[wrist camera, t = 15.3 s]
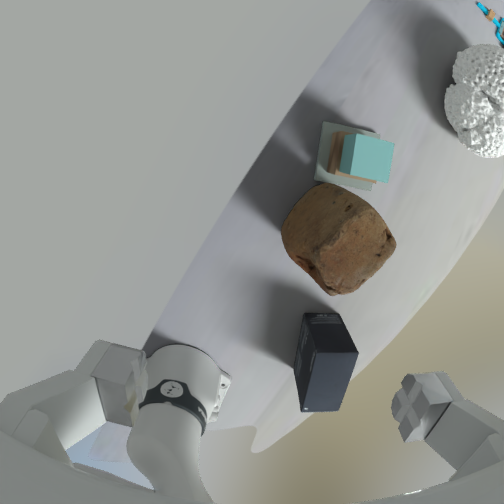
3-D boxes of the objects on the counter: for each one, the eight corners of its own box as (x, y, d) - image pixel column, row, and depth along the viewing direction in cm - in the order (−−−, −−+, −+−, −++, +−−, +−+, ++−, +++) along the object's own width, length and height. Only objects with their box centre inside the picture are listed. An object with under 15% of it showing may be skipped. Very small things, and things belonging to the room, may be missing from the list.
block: (323, 174, 44) (370, 192, 25) (354, 210, 46) (412, 250, 27) (271, 222, 47) (282, 273, 28) (304, 256, 48) (331, 322, 30)
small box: (326, 369, 56) (338, 412, 45) (292, 369, 56) (299, 413, 45) (341, 312, 52) (360, 353, 40) (303, 311, 52) (314, 353, 40)
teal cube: (373, 179, 38) (387, 183, 34) (339, 171, 38) (350, 174, 33) (379, 143, 37) (394, 143, 32) (344, 135, 36) (356, 133, 32)
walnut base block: (363, 179, 43) (375, 183, 38) (326, 172, 43) (335, 174, 38) (370, 141, 41) (382, 141, 36) (332, 132, 41) (341, 130, 36)
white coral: (453, 13, 27) (542, 60, 17) (490, 55, 34) (556, 100, 25) (409, 108, 40) (484, 170, 31) (453, 130, 48) (510, 182, 39)
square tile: (368, 190, 45) (370, 191, 44) (313, 179, 45) (315, 180, 43) (377, 134, 42) (380, 134, 41) (322, 121, 42) (324, 121, 41)
